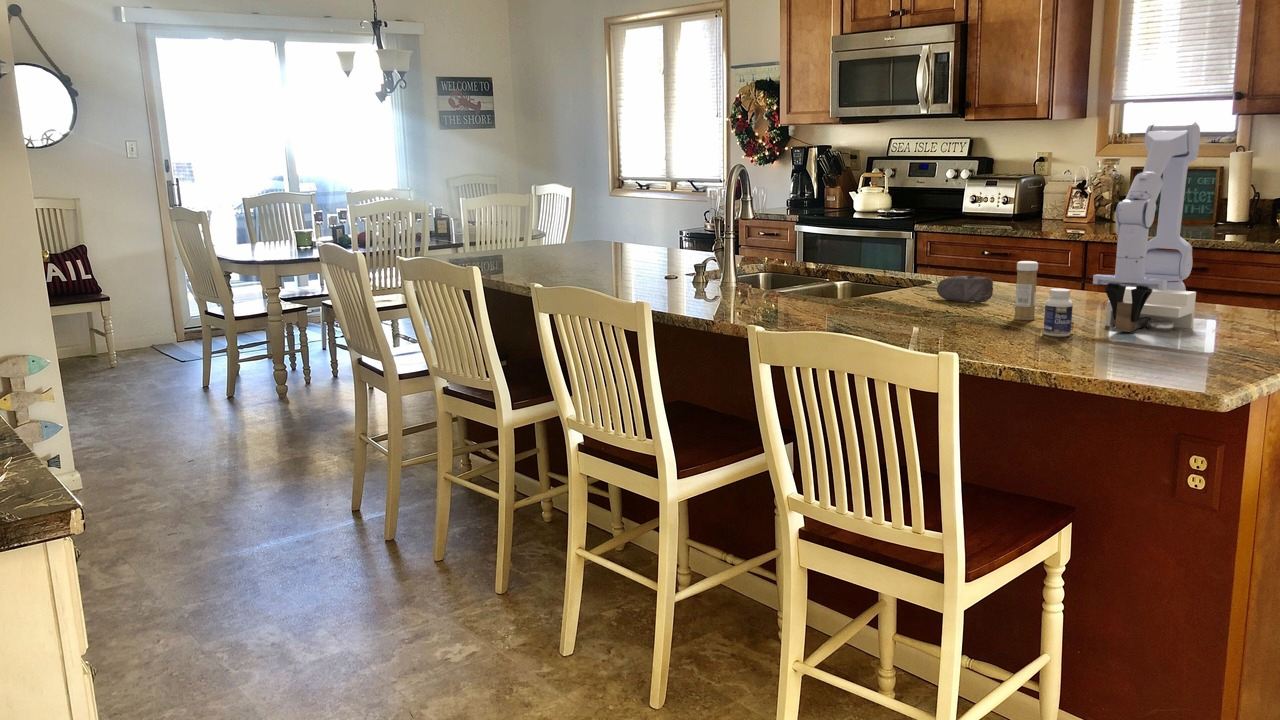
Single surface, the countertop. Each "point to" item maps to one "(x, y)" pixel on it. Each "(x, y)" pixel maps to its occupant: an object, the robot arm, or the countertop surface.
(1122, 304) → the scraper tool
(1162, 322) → the steel puck
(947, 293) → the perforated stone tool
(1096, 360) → the countertop surface
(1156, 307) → the stepped stand
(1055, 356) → the countertop surface
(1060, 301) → the pill bottle
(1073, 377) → the countertop surface
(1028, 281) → the sprinkles bottle
